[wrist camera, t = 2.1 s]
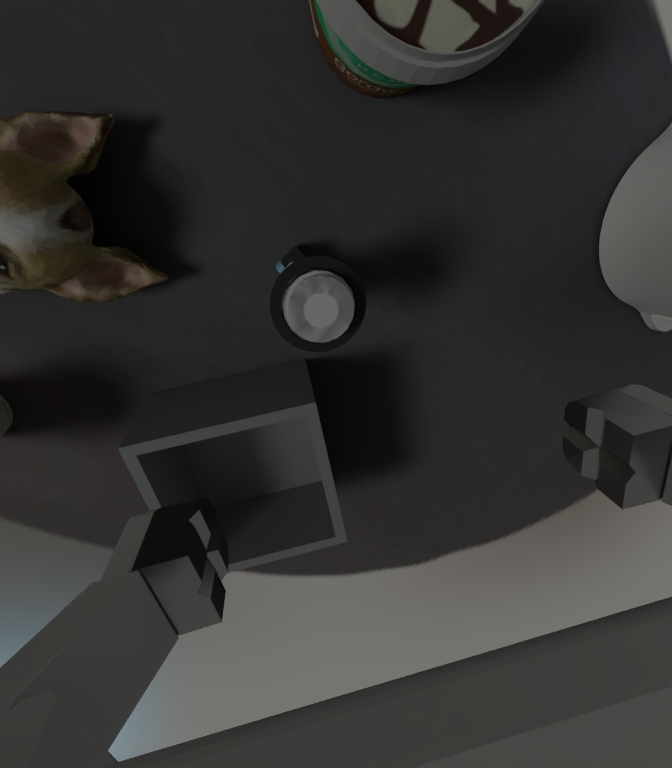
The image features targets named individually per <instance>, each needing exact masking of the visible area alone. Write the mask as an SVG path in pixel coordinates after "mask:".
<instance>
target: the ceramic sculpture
mask: <svg viewBox="0 0 672 768" xmlns="http://www.w3.org/2000/svg"><path fill="white" fill-rule="evenodd" d="M114 121H115V118H114V116H113V115H112V114H86V113H78V112H57V111H50V112H46V111H34V110H26V111H24V112H22V113H21V114H19V115H17V116H13V117H9V118H1V119H0V294H7V293H11V292H14V291H18V290H24V289H45V290H49V291H52V292H53V293H55V294H57V295H59V296H61V297H63V298H66V299H70V300H73V301H77V302H80V303H83V302H89V301H102V302H109V301H112V300H114V299H117V298H120V297H123V296H127V295H130V294H133V293H136V292H139V291H141V290H144V289H147V288H149V287H150V286H152V285H156V284H159V283H162V282H165V281H168V279H169V278H168V276H167V275H166V274H165V273H163V272H161V271H159V270H157V269H156V268H154V267H152V266H151V265H149V264H148V263H146V262H145V261H144V260H142V259H141V258H140V257H138V256H137V255H135V254H134V253H133V252H131V251H130V250H128V249H126V248H123V247H119V246H109V247H98V246H93V245H92V239H93V235H94V229H93V222H92V217H91V214H90V212H89V210H88V208H87V206H86V204H85V203H84V201H83V200H82V198H81V197H80V195H79V194H78V193H77V192H76V191H75V190H74V189H72V188H71V187H70V186H69V184H68V183H67V181H66V180H68V179H69V178H70V177H73V176H78V175H85V174H87V173H90V172H91V171H92V170H93V169H94V168H96V166H97V164H98V161H99V159H100V156H101V153H102V150H103V147H104V144H105V141H106V138H107V136H108V134H109V132H110V131H111V129H112V127H113V124H114Z"/></svg>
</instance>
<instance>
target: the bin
mask: <svg viewBox="0 0 672 768" xmlns="http://www.w3.org/2000/svg"><path fill="white" fill-rule="evenodd" d="M118 449H119V451H120V453H121V455H122V457H123V459H124V461H125V463H126V465H127V467H128V469H129V471H130V473H131V475H132V477H133V479H134V481H135V483H136V485H137V487H138V488H139V490H140V492H141V494H142V496H143V498H144V500H145V502H146V504H147V506H148V508H149V510H154V509H159V508H162V507H166V506H170V505H174V504H179V503H183V502H187V501H191V500H195V499H200V498H204V497H205V498H207V499H209V500H210V503H211V505H212V507H213V509H214V511H215V513H214V519H213V522H214V523H216V524H217V525H219V526H221V527H222V529H223V532H224V534H225V537H226V541H227V544H228V554H229V565H228V572H227V573H229V572H233V571H237V570H241V569H244V568H248V567H252V566H256V565H260V564H264V563H267V562H271V561H275V560H279V559H283V558H287V557H291V556H294V555H298V554H302V553H306V552H310V551H314V550H318V549H321V548H325V547H329V546H333V545H337V544H341V543H344V542H347V537H346V533H345V528H344V524H343V520H342V515H341V511H340V506H339V502H338V498H337V493H336V489H335V485H334V480H333V476H332V471H331V467H330V463H329V458H328V454H327V450H326V445H325V441H324V436H323V432H322V428H321V423H320V419H319V415H318V410H317V406H316V401H315V397H314V393H313V389H312V385H311V381H310V377H309V373H308V368H307V364H306V360H305V359H304V360H300V361H295V362H291V363H287V364H282V365H278V366H273V367H269V368H264V369H260V370H255V371H251V372H247V373H242V374H238V375H233V376H229V377H224V378H220V379H216V380H211V381H207V382H202V383H198V384H193V385H189V386H184V387H180V388H176V389H171V390H167V391H162V392H158V393H153V394H152V396H151V397H150V399H149V401H148V402H147V404H146V405H145V407H144V408H143V410H142V412H141V413H140V415H139V416H138V418H137V419H136V421H135V423H134V424H133V426H132V427H131V429H130V430H129V432H128V433H127V435H126V437H125V438H124V440H123V441H122V443H121V444H120V446H119V448H118Z"/></svg>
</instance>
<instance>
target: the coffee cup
mask: <svg viewBox="0 0 672 768" xmlns="http://www.w3.org/2000/svg"><path fill="white" fill-rule="evenodd" d="M12 421H13V413H12V410H11V408H10V406H9V403H8V402H7V401H6V400H5V399H4V398H3V397H2V396H1V395H0V438H1V437H2V436H3V435H4V433H5V432H6V431H7V430H8V429H9V428H10V426H11V424H12Z"/></svg>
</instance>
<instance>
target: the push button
mask: <svg viewBox="0 0 672 768" xmlns="http://www.w3.org/2000/svg"><path fill="white" fill-rule="evenodd" d="M322 268H328V269H331V270H334V271H336V272H338V273H339V274H341V275H342V276H343V278H344V279H345V281H346V282H347V283H346V282H345V281H344V280H343V279H342V278H341V277H339V276H337V275H335V274H333V273H331V272H328V271H325V270H323V269H322ZM276 269H277V270H278V271H279V273H280V275H279V276H278V278H277V280H276V281H275V283H274V286H273V288H272V292H271V298H270V311H271V316H272V320H273V322H274V325H275V327H276V329H277V330H278V332H279V333H280V334H281V336H282V337H283V338H284V339H285V340H286V341H288V342H289V343H290V344H292V345H293V346H295V347H297V348H299V349H302V350H306V351H311V352H324V351H329V350H333V349H335V348H338V347H340V346H341V345H343V344H345V343H346V342H347V341H349V340H350V339H351V338H352V337H353V336H354V334H355V333H356V332H357V330H358V329H359V327H360V325H361V323H362V321H363V318H364V315H365V310H366V297H365V292H364V288H363V285H362V283H361V281H360V279H359V278H358V276H357V275H356V274H355V272H354V271H353V270H352V269H351V268H350V267H348V266H347V265H346V264H344V263H343V262H341V261H339V260H337V259H335V258H332V257H328V256H322V255H314V256H308V257H306V256H305V255H304V254H303V252H302V251H301V250H300V249H299V248H298V247H297V246H295V247H294V248H293V249H292V250H291V251H290V252H289V253H288V254H287V255H286V256H285V257H284V258H282V259H281V260H280V261H279V262H278V263H277V264H276ZM347 284H348V285H347ZM285 288H286V289H287V293H286V296H285V299H284V303H283V307H284V314H283V312H282V309H281V300H282V295H283V292H284V290H285ZM284 316H285V317H284Z"/></svg>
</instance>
